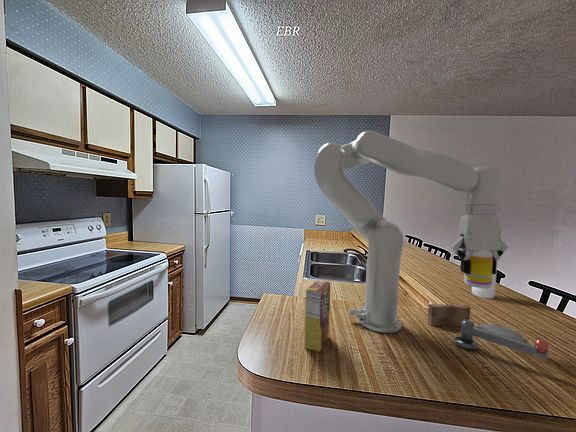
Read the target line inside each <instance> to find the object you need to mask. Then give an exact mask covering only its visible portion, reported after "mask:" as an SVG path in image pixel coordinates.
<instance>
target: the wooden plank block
mask: <svg viewBox="0 0 576 432" xmlns="http://www.w3.org/2000/svg"><path fill="white" fill-rule="evenodd" d="M427 309H428V312H427V314H428V315H427V324H428V325H430V326H433V327H435V326H436V327H439V326H440V327H461V324H462V319H467V320H471V319H470V318H471V317H470V316H471V307H470V306H469V305H466V304H440V303H439V304H438V303H429V304H428V308H427Z"/></svg>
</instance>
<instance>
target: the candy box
mask: <svg viewBox="0 0 576 432" xmlns="http://www.w3.org/2000/svg"><path fill="white" fill-rule="evenodd" d="M330 308H331V282H330V281H325V280H316V281H315V282H314V283H312V284H311V285H310V286H309V287H307V288H306V289H305V319H304V320H305V322H304V327H305V328H304V348H305V349H307V350H310V351H315V352H321V350H322V349H323V347H324V345H325V343H327V342H326V341H327V340H328V339H329V337H330V321H331V320H330V319H331V318H330V317H331V315H330V313H331V312H330V311H331V309H330Z"/></svg>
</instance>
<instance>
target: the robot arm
mask: <svg viewBox="0 0 576 432" xmlns="http://www.w3.org/2000/svg"><path fill="white" fill-rule="evenodd" d="M369 163H373V164H375V165H378V166H380V167H382V168H385V169H387V170H388V171H391V172H394V173H396V174H399V175H402V176H406V177H407V176H408V177H409V176H410V177H417V178H422V179H425V180H429V181H432V182H433V183H434V187H435V188H436V190H437V191H439V192H441V193H443V194H451V195H452V194H459V193H465V202H464V203H465V206H464V215H461V218H460V221H459V225H458V231H457V238H456V240H455V241H454V242H453V243H452V244H451V245H450V248H451V249H452V250H453V252H454V253H455V254H456V255H457V257H458V258H459V259H460V266H459V268H460V271H461V273H463V274H464V273H466V274H470V269H471V261H470V260H469V258H470V256H471V254H472V252H473V251H479V250H483V249H486V250H488V251H491V252H492V254H493V265H492V274H496V275H497V272H496V267H497V268H498V261H499V260H500V258H501V256H502V255H503V254H504V253H505V252H506V251H507V250H508V248H509V246H508V244H506V243H505V242H504V240H502V228H501V227H502V226H501V221H500V216H498V213H499V212H501V208H500V207H499V206H498V197H499V182H500V181H499V178H500V172H499V171H500V170H499V169H498V168H496V167H494V166H477V167H476V166H475V167H473V166H472V165H470V164H468V163H466V162H464V161H462V160H460V159H457V158H454V157H452V156H449V155H447V154H443V153H439V152H435V151H432V150H427V149H424V148H419V147H417V146H416V147H415V146H412V145H410V144H408V143H407V144H406V143H405V142H402V141H400V140H397V139H395V138H392V137H391V136H387V135H385V134H382V133H380V132H377V131H374V130H371V129H369V130H364V131H362V132H360V134H358V136H357V137H356V139H355V140H354V141H351V142H347V143H346V144H343V145H340V144H338V143H337V142H327V143H325V144H323V145H322V146H321V147H320V148H319V149H318V152H317V153H316V157H315V159H314V165H313V171H314V172H313V173H314V177H315V181H316V183H317V185H318V188H319V189H320V190H321V192H322V194H324V195H325V196H326V198H327V199H328V200H329V201H330V203H332V204H333V206H334V207H335V208H336V209H337V211H339V213H341V214H342V215H343V217H344V218H345V220H346V221H347V222H348V223H349V224H351V225H350V226H352V227H353V228H354V229H355V230H356V231H357V232H358V234H360V235H361V236H362V238H364V240H366V241H367V242H368V250H367V259H366V276H365V290H364V292H365V293H364V305H363V304H362V305H361V307H360V308H359V307H358V308H357V309H356V308H348V316H354V318H355V319H358V322H359V324H360V325H361V326H363V327H365V328H366V329H368V330H369V331H370V330H371V331H374V332H378V333H383V334H391V333H392V334H394V333H397V332H399V331H401V330H402V327H403V325H402V321H401V320H400V319H398V318H397V317H398V316H397V315H398V304H399V303H398V302H399V288H400V287H399V286H400V272H401V261H402V255H403V254H402V253H403V248H404V234H403V232H402V230H401V229H400V227H399V226H398V225H396V224H395V223H393V222H391V221H389V220H388V219H386V218H385V217H384V216H383V215H382V213H380V212H379V211H378V210H377V208H376V207H375V205H374V203H373V202H372V200H370V199H369V198H368V197H367V196H365V195H364V194H363V193H362V192H361V191H360V190H359V189H358V188H357V186H355V185H354V184H353V182H352V181H350V179H349V178H348V177H347V176H346V174H345V172H346V171H348V170H349V171H350V170H352V169H355V168H357V167H358V168H359V167H360V166H363V165H365V164H369ZM484 244H486V245H487V246H485V247H484V246H483V245H484ZM466 251H467V252H466ZM497 260H498V261H497Z"/></svg>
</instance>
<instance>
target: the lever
mask: <svg viewBox="0 0 576 432" xmlns="http://www.w3.org/2000/svg"><path fill="white" fill-rule="evenodd" d="M474 337H476V338H479V339H483V340H485V341H488V342H491V343H495V344H498V345H500V346H504V347H507V348H509V349H512V350H516V351H518V352H521V353H525V354H527V355H531V356H534V357H537V358H538V359H539V358H540V359H542V360H547V358H548V354H549V344H550V342H549V341H547V340H546V339H544V338H539V337H538V338H535V342H534V343H535V344H531V343H528V342H522V341H518V340H515V339H512V338H509V337H506V336H502V335H499V334H496V333H493V332H489V331H486V330H483V329H480V328H478V327H475V321H473V320H471V319H470V320H467V319H462V324H461V326H460V335H459V336H456V337H455V338H454V344H455V345H456V346H458V347H459V348H462V349H464V350H468V351H477V350H478V349H479V343H478V342H477V341H476V340H474Z"/></svg>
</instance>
